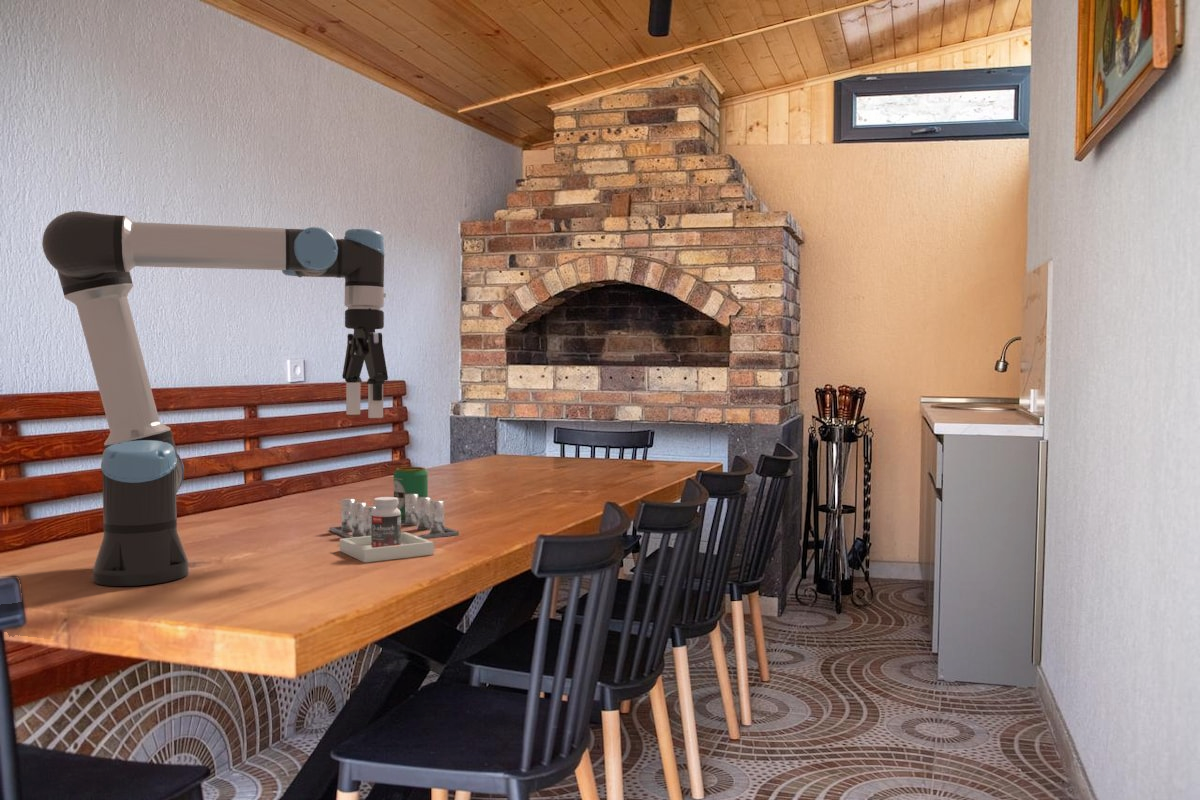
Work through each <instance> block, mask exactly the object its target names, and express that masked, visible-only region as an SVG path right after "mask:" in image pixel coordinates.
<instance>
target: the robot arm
mask: <svg viewBox="0 0 1200 800" xmlns="http://www.w3.org/2000/svg"><path fill="white" fill-rule="evenodd" d="M41 246H42V249H43V254H44V255H45V259H47V261H48V263H49V265H50V266H52V268H54V269H55V270H56V271H57V274H58V279H59V282H60V286H61V289H62V292H63V293H62V294H63V297H64V299H66V300H68V301H69V302H70V303H72V304H74V305H75V306H76V309H77V312H78V318H79V321H80V324H81V327H82V332H83V335H84V338H85V342H86V343H85V344H86V346H87V350H88V354H89V358H90V361H91V365H92V370H93V373H94V376H95V380H96V384H97V387H98V390H99V396H100V398H101V402H102V407H103V409H104V413H105V417H106V421H107V425H108V428H109V431H110V432H109V435H108V437H107V438H106V439H105V441H104V443H103V445H104V451H103V452H102V458H101V459H102V461H101V464H100V469H101V472H102V502H103V503H102V508H103V509H102V512H103V513H102V515H103V516H102V517H103V536H102V537H103V538H102V540H101V544H100V545H99V550H98V552H97V555H96V559H95V562H94V565H93V570H92V571H93V572H92V574H93V576H92V579H93V583H94V584H97V585H101V586H107V587H134V586H147V585H155V584H161V583H168V582H173V581H176V580H179V579H182V578H184V577H186V576H188V575H189V559H188V556H187V554H186V551H185V549H184V547H183V543H182V541H181V538H180V536H179V533H178V523H177V522H178V520H177V519H178V517H177V515H178V513H177V512H178V511H177V510H178V508H177V507H178V505H177V493H178V491H179V490H180V488H181V487H182V485H183V481H184V478H185V476H184V474H185V467H184V463H183V460H182V458H181V456H180V454H178V451H177V447H176V444H175V440H174V436H173V433H172V429H171V427H169V426H168V425H166V424H164V423H162V422H161V421H160V418H159V414H158V410H157V405H156V403H155V402H156V401H155V399H154V394H153V390H152V387H151V383H150V380H149V379H150V378H149V375H148V372H147V367H146V365H145V361H144V360H145V359H144V356H143V352H142V348H141V345H140V340H139V337H138V333H137V330H136V327H135V326H136V325H135V321H134V317H133V315H132V311H131V308H130V303H129V299H128V294H129V293H130V291H131V290H132V288H133V287H134V284H133V280H132V276H131V273H130V271H132V270H133V269H134V267H135V268H136V267H143V268H144V267H147V268H150V267H151V268H153V267H154V268H183V269H184V268H185V269H186V268H187V269H188V268H189V269H191V268H192V269H222V270H223V269H227V270H229V269H230V270H231V269H232V270H267V271H281V272H282V274H283V275H285V276H290V277H291V276H292V277H297V278H302V277H309V278H313V277H314V278H337V279H338V278H339V279H340V278H341V279H342V278H344V306H345V307H346V308H347V309H345V311H344V327H345V328H346V329H348V330H349V329H351V330H353V333H348V334H347V345H346V351H345V358H344V363H343V371H342V376H341V377H342V379H343V380H345V383H346V387H345V388H346V389H345V391H346V393H345V394H346V398H345V401H346V402H345V403H346V404H345V406H346V407H345V408H346V409H345V412H346V413H345V414H346V415H350V416H351V415H361V383H362V382H363V380H362V377H361V373H362V370H363V366H364V364H365V367H366V370H367V374H368V378H367V382H366V384H368V385H367V390H368V391H367V393H368V395H367V397H368V398H367V399H368V401H367V403H368V404H367V405H368V406H367V410H368V411H367V413H368V415H367V416H368V417H367V418H368V419H382V418H383V419H384V384H385V383H386V381H388V380H389V377H388V369H387V363H386V358H385V352H384V345H383V332H376V330H381V329H382V330H383V329H384V327H385V313H384V311H383V310H382V309H381V308H383V307H384V306H385V305H384V303H385V302H384V301H385V299H384V298H386V297H387V296H386V295H387V294H386V293H385V292H384V291H385V290H384V289H385V287H384V286H385V255H386V254H385V248H384V247H385V244H384V236H383V234H382V233H381V232H380V231H378V230H376V229H369V228H368V229H367V228H352V229H347V230H346V231H345V233H344V237H343V238H340V239H339V238H335V237H334V235H333V234H332V233H331V232H329V231H328V230H327V229H324V228H322V227H317V226H313V227H308V228H305V229H303V228H302V229H301V228H282V227H281V228H277V227H261V226H260V227H258V226H257V227H256V226H232V225H208V224H188V223H187V224H185V223H184V224H183V223H162V222H159V223H157V222H139V221H137V222H135V221H133V220H132V219H131V218H130V217H129V216H128V215H120V214H119V215H117V214H116V215H114V214H106V213H105V214H103V213H95V212H90V211H89V212H88V211H84V210H83V211H81V210H77V211H76V210H75V211H68V212H64V213H62V214H60V215H58V216H56V217H55V218H53V219H52V220H51V221H50V222H49V223H48V225H47V226H46V228H45V230H44V232H43V236H42V245H41Z"/></svg>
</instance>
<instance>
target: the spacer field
mask: <svg viewBox="0 0 1200 800" xmlns="http://www.w3.org/2000/svg"><path fill="white" fill-rule="evenodd" d="M340 504H341V505H340V506H341V515H340V516H341V526H340V525H338V526H330V527H329V532H332V533H335V534H336V535H338V536H341V537H343V538H353V537H362V536H371V514H372V511H373V510H374V509H375V505H367V502H365V501H360V502H358V501H356V499H355V498H342V499H341V503H340ZM401 525H405V526H409V527H413V526H416V527H417V530H418V531H427V530H429V533H428V534H420V535H419V534H418V535H417V536H418V537H421V538H423V539H430V538H431V539H432V538H441V537H443V538H445V537H452V536H459V533H460V532H459V530H456V529H454V528H453V529H452V528H450V527H447V526H445V501H444V500H439V499H438V500H432V498H431V497H430V496H428V497H418V494H405V520H401ZM350 533H352V534H350Z"/></svg>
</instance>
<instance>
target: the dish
mask: <svg viewBox="0 0 1200 800" xmlns="http://www.w3.org/2000/svg"><path fill="white" fill-rule="evenodd" d="M434 542H435V541H431V540H428V539H427V538H425V539H423V538H421V537H418V535H415V534H412V533H411V532H410V533H409V532H406V531H404V532H402V531H401V545H395V546H385V547H376V548H372V546H371V536H360V537H356V536H355V537H353V538H345V537H343V538H339V552H342V553H344V554H346V555H348V556H349V557H351V558H354V559H357V560H359V561H361V562H362V563H372V562H382V561H388V560H399V559H407V558H414V557H415V558H417V557H423V556H424V557H425V556H433V555H434V554H435V543H434Z"/></svg>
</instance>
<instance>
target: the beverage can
mask: <svg viewBox="0 0 1200 800" xmlns="http://www.w3.org/2000/svg"><path fill="white" fill-rule="evenodd" d="M428 475H429V474H428V471H427V470H426V467H421V466H405V467H404V466H403V467H397V468H395V471H394V473H393V497H396V498H398V502H399V504H398V505H397V508H398V509H399V510H400V512H401V521H402V520H405V494H418V497H429V491H428V490H429V489H428V488H429V487H428V483H429V482H428V480H429V479H428Z"/></svg>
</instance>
